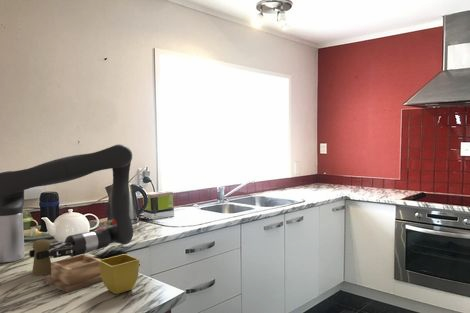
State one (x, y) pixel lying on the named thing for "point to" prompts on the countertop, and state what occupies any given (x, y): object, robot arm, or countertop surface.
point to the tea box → (159, 205)
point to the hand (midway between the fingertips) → (33, 255)
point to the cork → (42, 264)
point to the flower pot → (119, 272)
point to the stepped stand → (74, 273)
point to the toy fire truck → (108, 223)
